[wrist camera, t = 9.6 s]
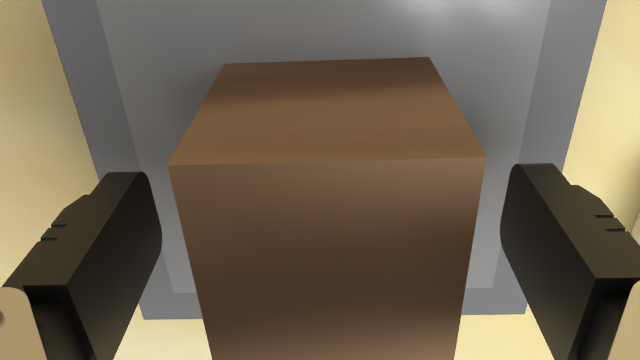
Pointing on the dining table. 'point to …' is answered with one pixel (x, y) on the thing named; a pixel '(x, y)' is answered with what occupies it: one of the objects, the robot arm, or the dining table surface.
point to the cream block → (636, 230)
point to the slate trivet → (316, 45)
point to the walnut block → (329, 210)
